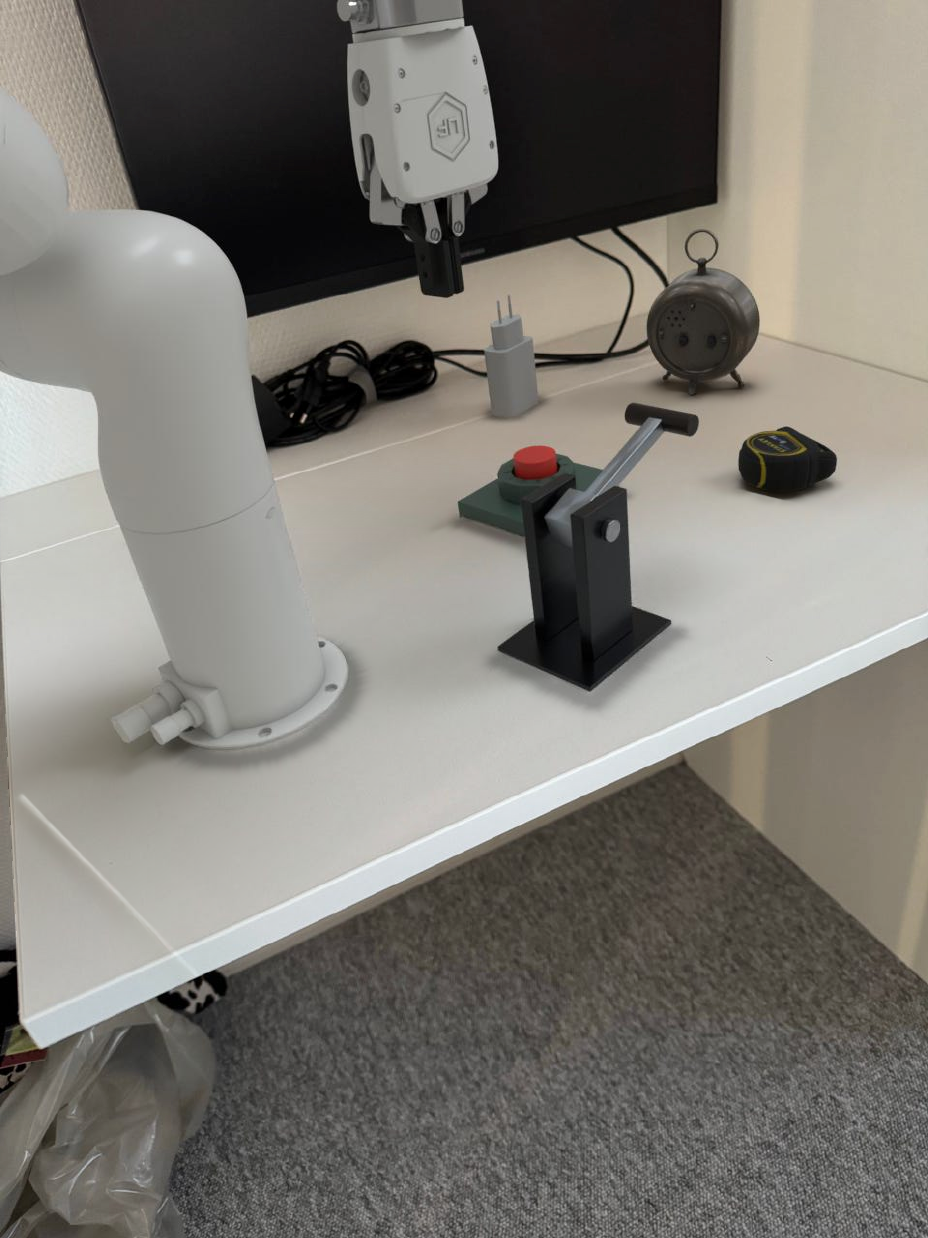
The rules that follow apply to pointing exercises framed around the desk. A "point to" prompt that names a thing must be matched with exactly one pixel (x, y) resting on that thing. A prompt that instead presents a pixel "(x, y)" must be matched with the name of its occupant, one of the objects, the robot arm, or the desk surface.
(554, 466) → the button
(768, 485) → the tape measure
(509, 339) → the power adapter
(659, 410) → the lever
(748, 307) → the alarm clock
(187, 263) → the robot arm
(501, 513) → the green switch base
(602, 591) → the bracket
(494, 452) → the desk surface
